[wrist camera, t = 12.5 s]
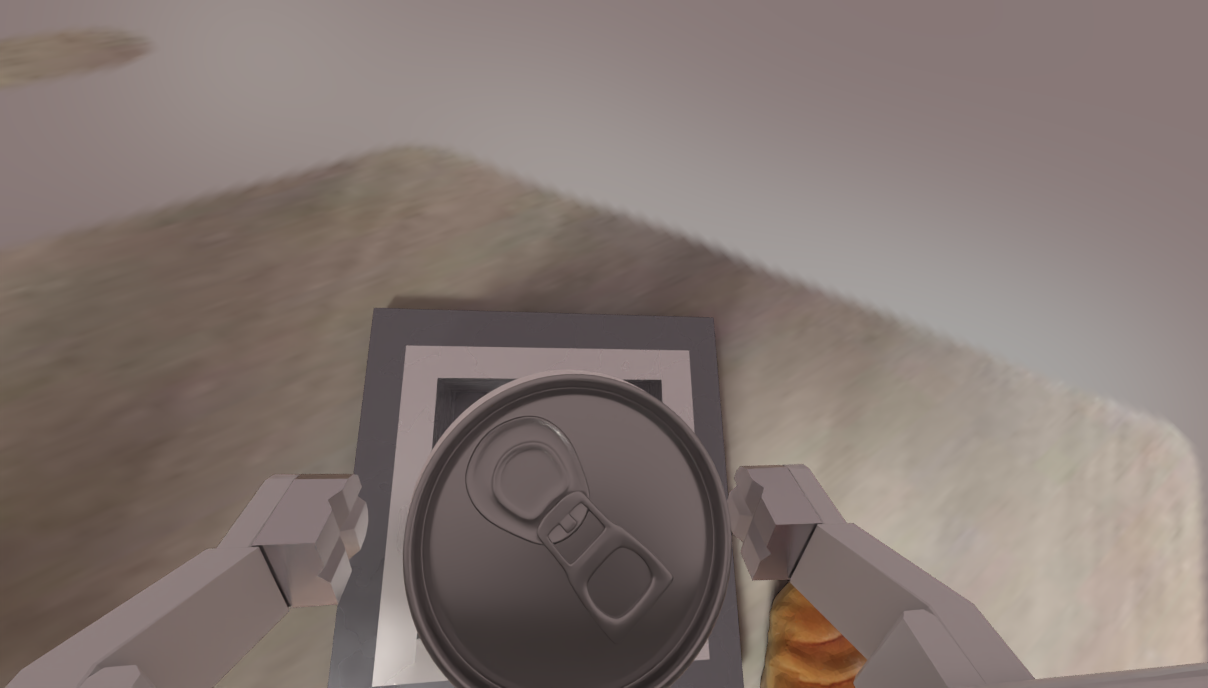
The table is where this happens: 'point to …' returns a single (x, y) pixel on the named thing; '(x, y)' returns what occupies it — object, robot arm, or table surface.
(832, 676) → the pastry
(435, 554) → the can
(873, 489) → the table surface
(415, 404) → the collar
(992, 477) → the table surface
